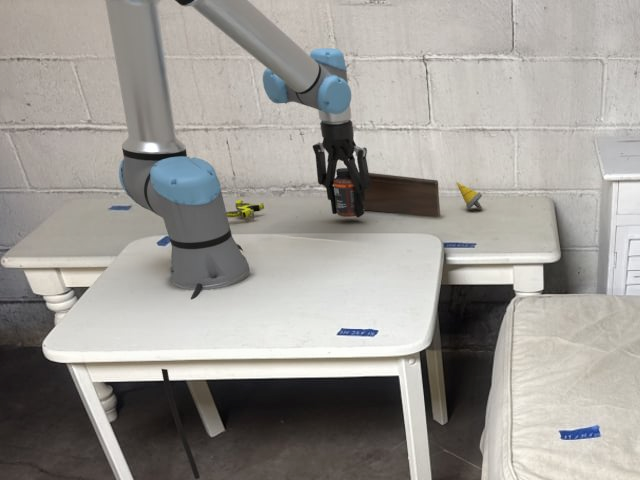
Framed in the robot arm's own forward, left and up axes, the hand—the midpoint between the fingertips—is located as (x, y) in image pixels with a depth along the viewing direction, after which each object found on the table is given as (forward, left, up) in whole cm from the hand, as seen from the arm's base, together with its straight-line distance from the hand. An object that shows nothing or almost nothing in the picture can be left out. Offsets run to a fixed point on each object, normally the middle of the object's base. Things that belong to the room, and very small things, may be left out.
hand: (348, 213), depth 187 cm
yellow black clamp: (-5, +28, -3) cm, 28 cm away
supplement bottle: (0, 0, 0) cm, 0 cm away
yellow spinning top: (+19, -26, -3) cm, 33 cm away
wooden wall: (+12, -9, -3) cm, 15 cm away
